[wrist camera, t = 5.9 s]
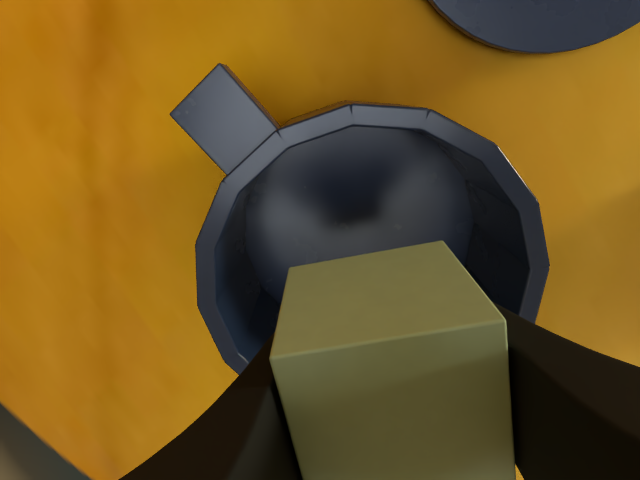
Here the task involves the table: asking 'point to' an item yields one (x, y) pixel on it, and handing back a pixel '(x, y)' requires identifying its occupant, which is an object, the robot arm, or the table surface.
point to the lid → (539, 22)
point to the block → (394, 369)
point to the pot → (347, 203)
